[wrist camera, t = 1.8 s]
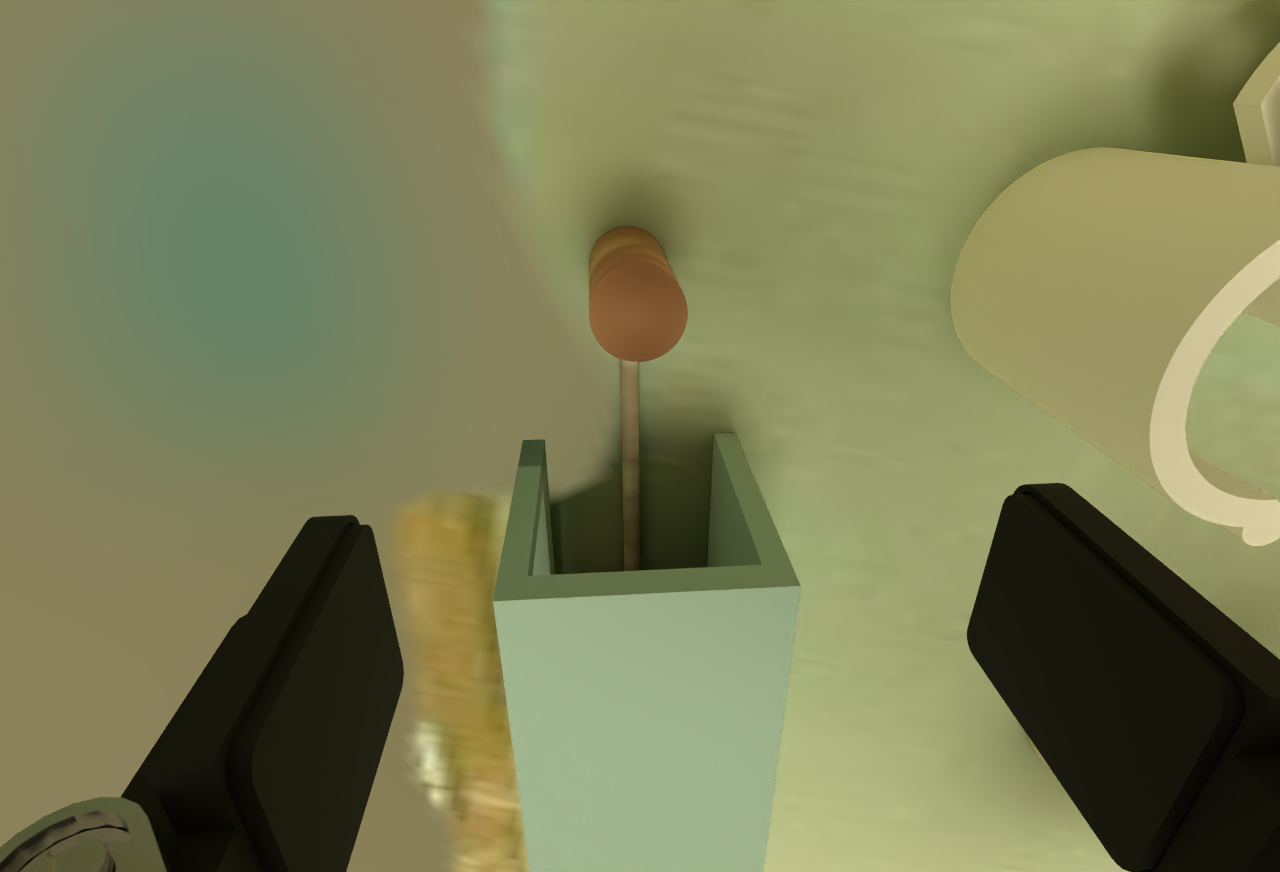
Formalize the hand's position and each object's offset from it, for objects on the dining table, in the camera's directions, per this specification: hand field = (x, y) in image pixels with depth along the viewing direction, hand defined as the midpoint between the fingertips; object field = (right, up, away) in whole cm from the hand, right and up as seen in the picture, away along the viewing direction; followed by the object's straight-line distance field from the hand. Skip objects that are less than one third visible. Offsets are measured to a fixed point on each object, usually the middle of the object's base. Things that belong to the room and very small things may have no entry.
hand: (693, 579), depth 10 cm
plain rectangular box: (-1, -6, +26) cm, 27 cm away
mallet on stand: (-1, 0, +23) cm, 23 cm away
